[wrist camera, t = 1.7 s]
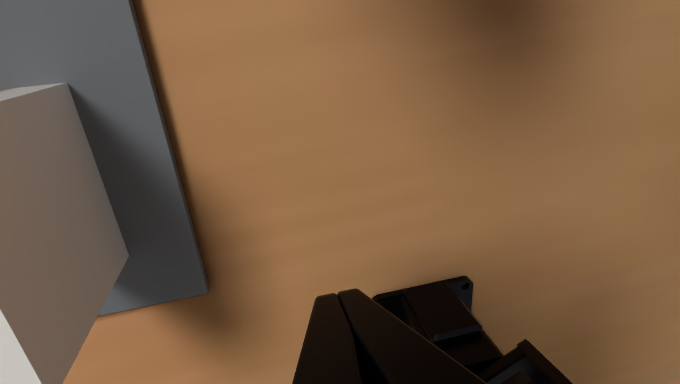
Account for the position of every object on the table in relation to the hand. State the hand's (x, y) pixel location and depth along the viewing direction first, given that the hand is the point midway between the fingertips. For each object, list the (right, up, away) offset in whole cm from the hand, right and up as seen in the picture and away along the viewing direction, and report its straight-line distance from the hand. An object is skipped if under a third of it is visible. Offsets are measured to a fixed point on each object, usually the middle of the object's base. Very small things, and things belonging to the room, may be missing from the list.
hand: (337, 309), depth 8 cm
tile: (-11, +3, +9) cm, 15 cm away
